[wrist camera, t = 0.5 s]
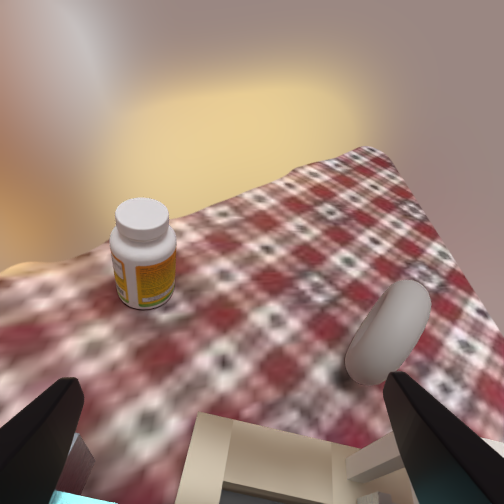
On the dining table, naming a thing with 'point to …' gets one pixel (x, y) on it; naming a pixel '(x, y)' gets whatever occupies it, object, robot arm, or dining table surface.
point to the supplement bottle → (143, 253)
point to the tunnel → (386, 460)
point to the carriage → (69, 500)
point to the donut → (388, 333)
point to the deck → (273, 468)
